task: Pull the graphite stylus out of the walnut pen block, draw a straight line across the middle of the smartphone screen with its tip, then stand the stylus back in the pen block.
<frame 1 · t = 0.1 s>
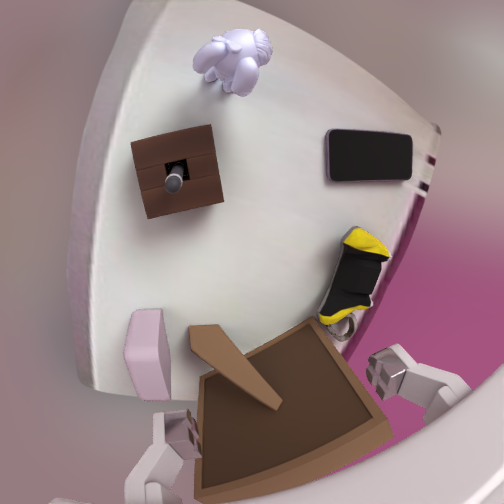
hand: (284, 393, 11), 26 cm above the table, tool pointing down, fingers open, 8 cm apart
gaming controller: (344, 268, 42), on the table
wristwatch: (330, 333, 45), point 1 cm above the table
stylus: (176, 174, 24), in a hole of the pen block
pen block: (178, 167, 31), on the table
electronic device: (150, 331, 39), on the table
toy figurine: (223, 75, 28), on the table
photo frame: (245, 337, 43), on the table
smartphone: (370, 155, 35), on the table
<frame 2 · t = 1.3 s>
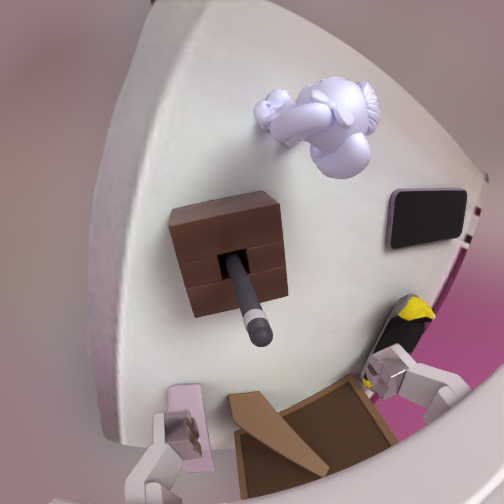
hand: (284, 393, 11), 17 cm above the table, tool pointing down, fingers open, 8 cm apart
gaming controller: (387, 327, 37), on the table
stylus: (238, 277, 20), in a hole of the pen block
pen block: (225, 241, 26), on the table
electronic device: (186, 400, 34), on the table
toy figurine: (283, 121, 23), on the table
photo frame: (284, 397, 38), on the table
smartphone: (428, 214, 31), on the table
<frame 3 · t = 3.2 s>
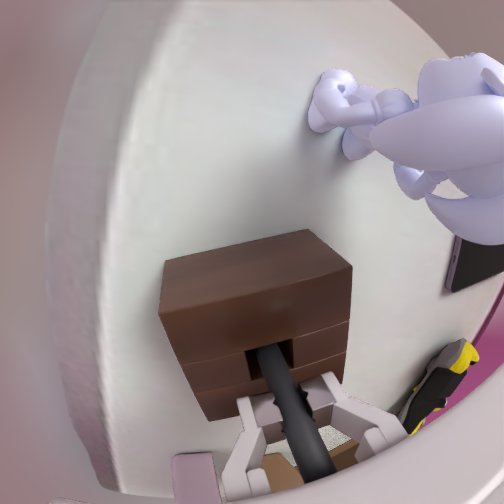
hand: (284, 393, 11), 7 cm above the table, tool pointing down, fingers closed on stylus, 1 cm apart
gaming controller: (427, 372, 28), on the table
stylus: (284, 392, 11), in a hole of the pen block, touching gripper
pen block: (248, 304, 17), on the table
electronic device: (194, 464, 25), on the table
toy figurine: (341, 119, 14), on the table
photo frame: (306, 452, 29), on the table
smartphone: (486, 245, 22), on the table
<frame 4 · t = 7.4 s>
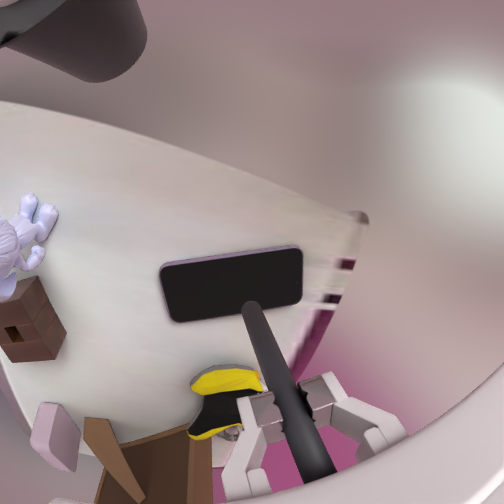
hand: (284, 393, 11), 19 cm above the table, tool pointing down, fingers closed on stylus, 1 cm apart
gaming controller: (220, 387, 37), on the table
wristwatch: (219, 433, 40), point 1 cm above the table
stylus: (284, 393, 11), point 19 cm above the table, touching gripper
pen block: (29, 310, 25), on the table
electronic device: (60, 415, 33), on the table
toy figurine: (37, 218, 22), on the table
photo frame: (136, 428, 37), on the table
smartphone: (233, 281, 30), on the table
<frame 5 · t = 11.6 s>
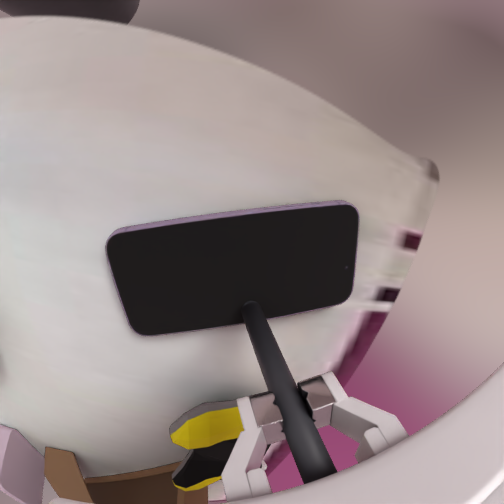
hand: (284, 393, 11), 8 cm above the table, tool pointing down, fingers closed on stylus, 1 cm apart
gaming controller: (218, 424, 24), on the table
stylus: (284, 392, 11), point 8 cm above the table, touching gripper
electronic device: (19, 440, 20), on the table
photo frame: (110, 464, 25), on the table
smartphone: (238, 265, 17), on the table
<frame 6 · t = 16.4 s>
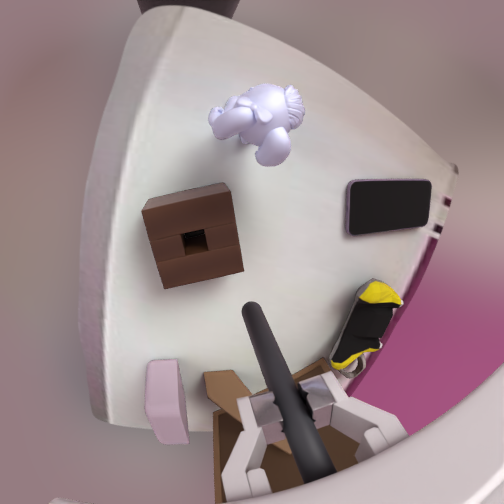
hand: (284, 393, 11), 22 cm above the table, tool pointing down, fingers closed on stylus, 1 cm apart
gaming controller: (356, 313, 41), on the table
wristwatch: (339, 371, 44), point 1 cm above the table
stylus: (284, 393, 11), point 22 cm above the table, touching gripper
pen block: (193, 226, 30), on the table
electronic device: (166, 377, 38), on the table
toy figurine: (240, 122, 27), on the table
photo frame: (258, 378, 42), on the table
smartphone: (389, 203, 35), on the table
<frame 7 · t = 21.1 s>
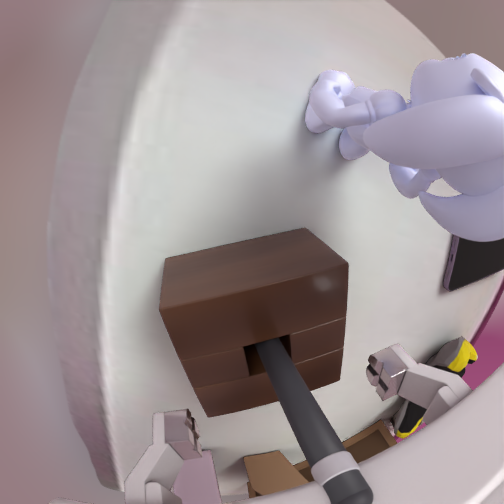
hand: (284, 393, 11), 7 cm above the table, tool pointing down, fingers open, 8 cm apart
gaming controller: (425, 371, 28), on the table
wristwatch: (394, 428, 31), point 1 cm above the table
stylus: (283, 374, 11), in a hole of the pen block, tilted 8°
pen block: (247, 302, 17), on the table
electronic device: (193, 462, 25), on the table
toy figurine: (338, 120, 14), on the table
photo frame: (306, 451, 29), on the table
smartphone: (484, 244, 22), on the table
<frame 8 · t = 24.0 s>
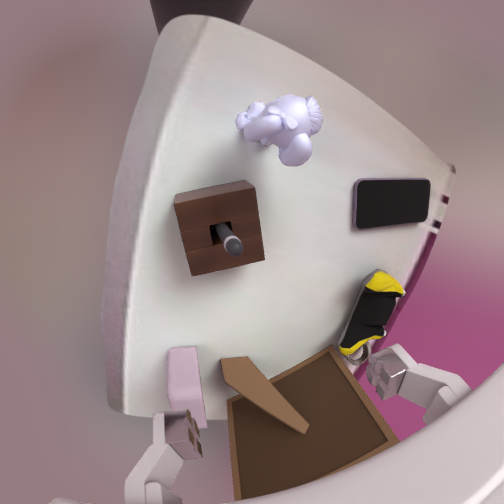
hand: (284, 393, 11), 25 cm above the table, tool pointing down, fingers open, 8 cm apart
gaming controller: (362, 302, 44), on the table
wristwatch: (346, 358, 47), point 1 cm above the table
stylus: (224, 232, 27), in a hole of the pen block, tilted 8°
pen block: (216, 219, 33), on the table
electronic device: (184, 364, 41), on the table
toy figurine: (260, 126, 30), on the table
photo frame: (270, 365, 45), on the table
smartphone: (392, 200, 38), on the table
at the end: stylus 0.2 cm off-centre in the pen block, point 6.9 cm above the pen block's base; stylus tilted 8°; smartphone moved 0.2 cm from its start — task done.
